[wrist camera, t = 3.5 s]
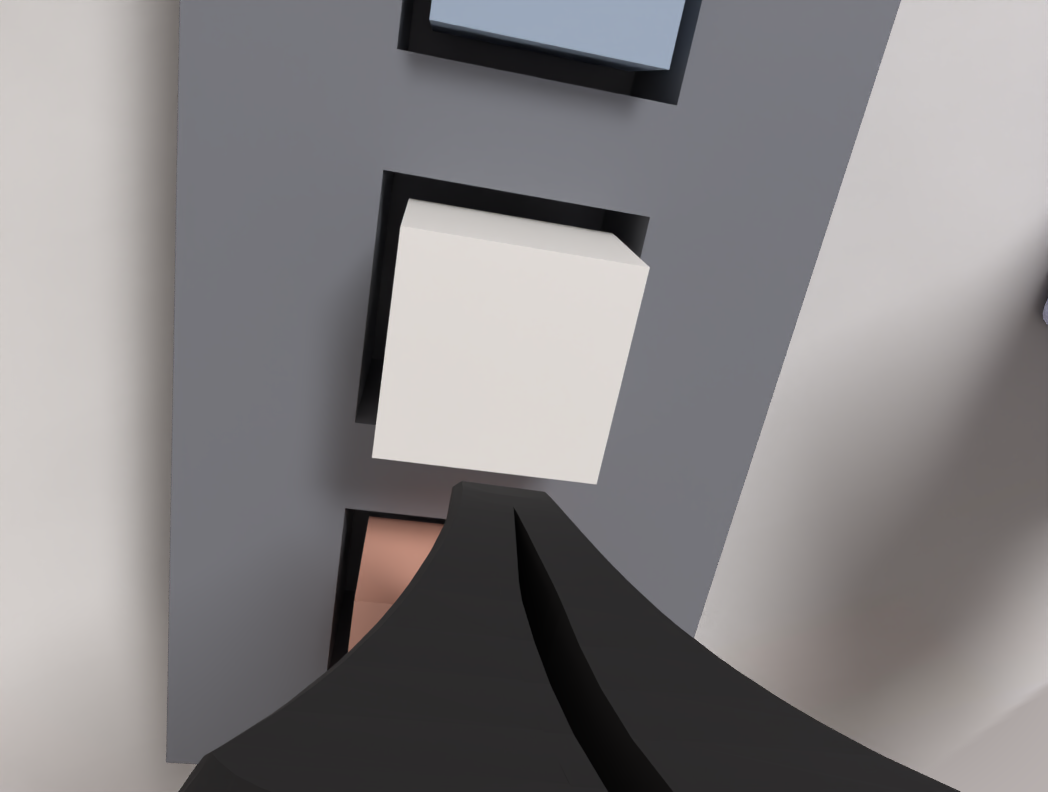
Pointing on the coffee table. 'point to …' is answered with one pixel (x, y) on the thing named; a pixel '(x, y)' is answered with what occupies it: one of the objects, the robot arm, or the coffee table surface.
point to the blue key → (570, 28)
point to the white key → (505, 343)
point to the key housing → (368, 275)
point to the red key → (388, 568)
